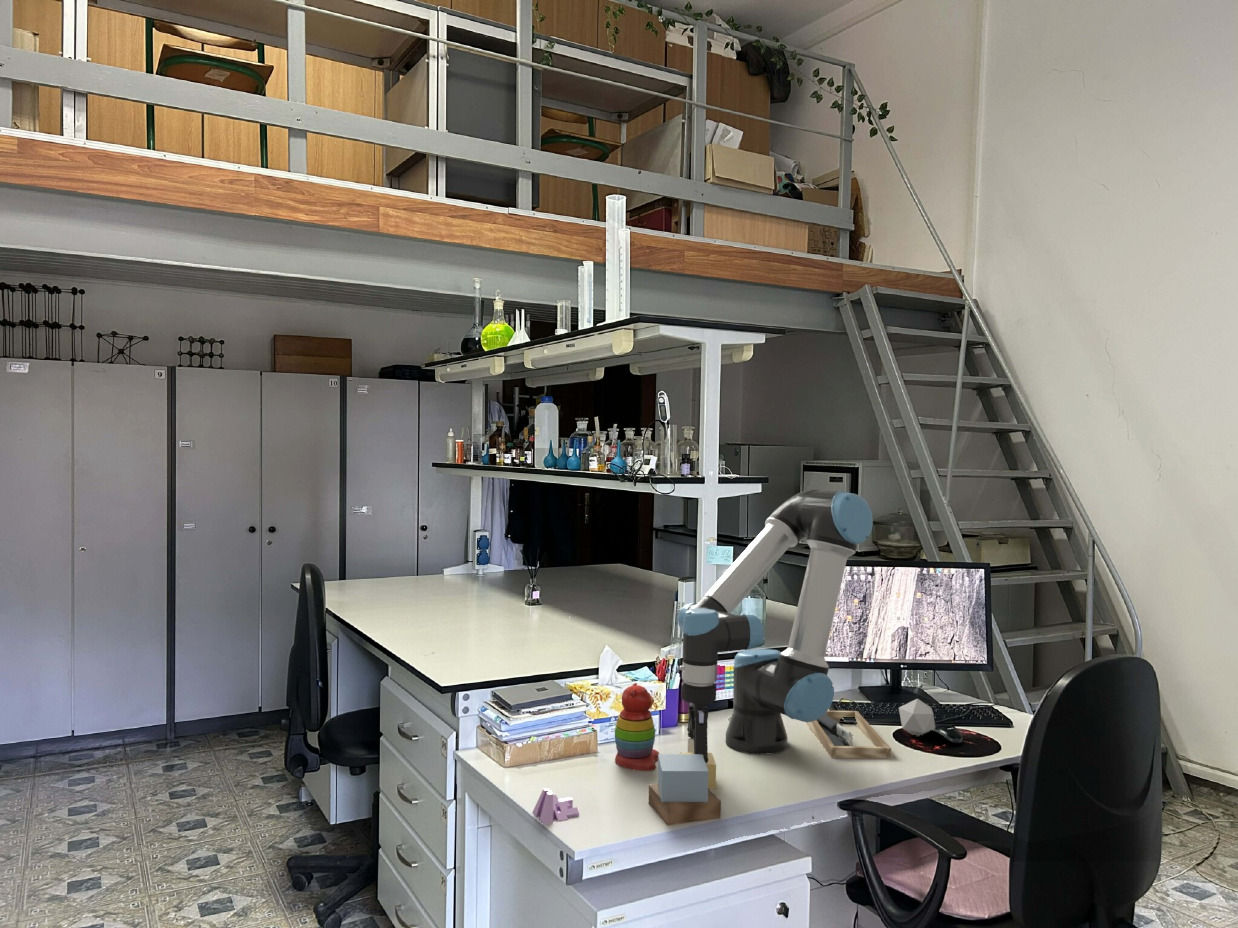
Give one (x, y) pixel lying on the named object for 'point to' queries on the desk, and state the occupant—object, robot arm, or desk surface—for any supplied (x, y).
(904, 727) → the die
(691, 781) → the blue-grey block
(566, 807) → the letters
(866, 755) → the wagon tray frame
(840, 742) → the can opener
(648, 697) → the stacking bear
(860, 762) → the desk surface
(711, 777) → the ochre block
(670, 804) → the walnut base block
